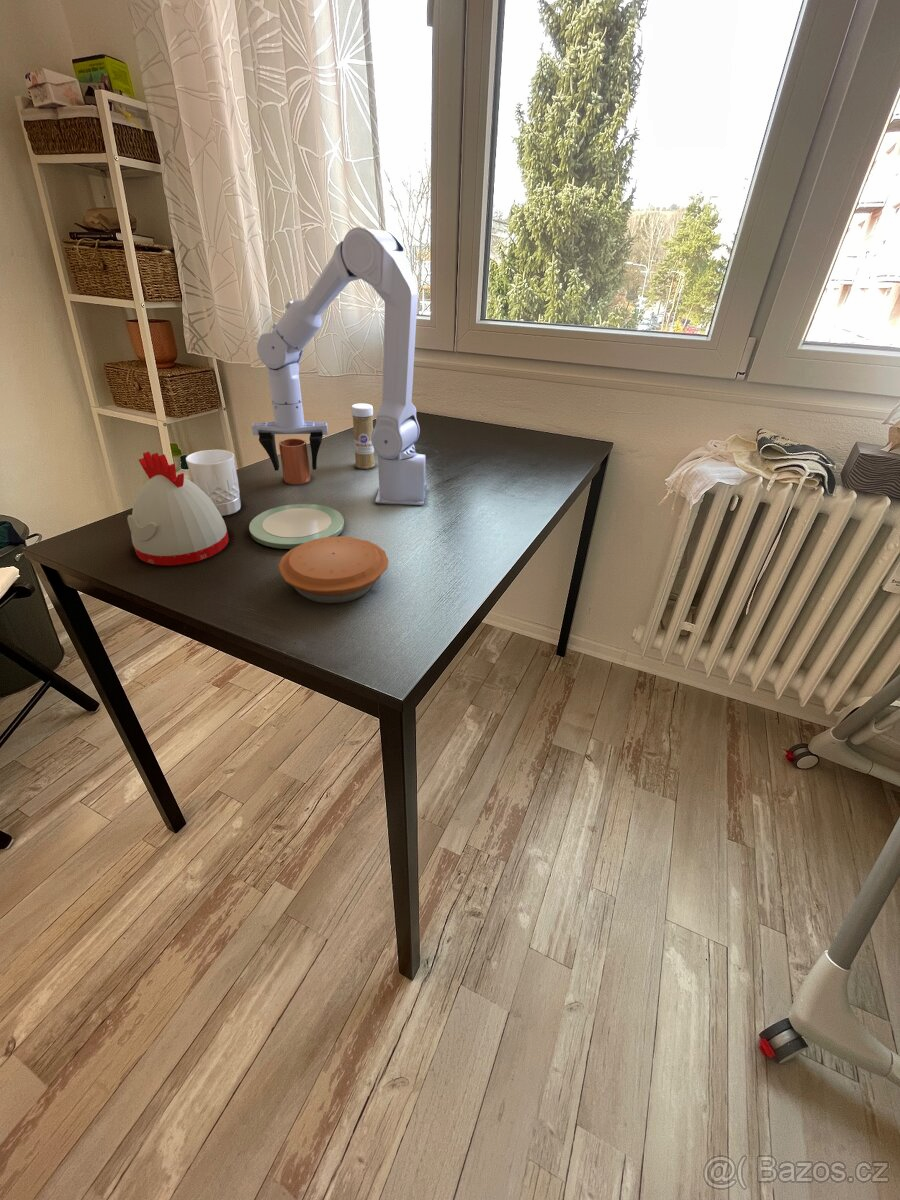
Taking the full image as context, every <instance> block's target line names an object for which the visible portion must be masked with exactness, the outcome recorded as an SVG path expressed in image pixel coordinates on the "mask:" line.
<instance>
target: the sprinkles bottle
mask: <svg viewBox="0 0 900 1200" xmlns="http://www.w3.org/2000/svg"><path fill="white" fill-rule="evenodd" d="M350 407H351V409H350V410H351V417H352V426H353V428H352V429H353V432H352V433H353V445H354V459H355V464H354V466H355V467H356V468H358V469H363V470H368V469H372V468H374V467H375V466H376V463H375V449H374V448H373V445H372V442H371V434H372V431H373V429H374V425H373V424H374V423H373V417H374V408H373V405H372V404H369V403H364V402H363V403H362V402H361V403H354V404H352V405H351V406H350Z"/></svg>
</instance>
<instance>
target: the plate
mask: <svg viewBox="0 0 900 1200" xmlns="http://www.w3.org/2000/svg"><path fill="white" fill-rule="evenodd" d="M344 529H345V519H344V516H343V515H342V514H341V513H340V512H339V511H338V510H336V509H334V508H332V507H329V506H325V505H320V504H314V503H295V504H286V505H280V506H277V507H273V508H270V509H267V510H265V511H263V512H261V513H259V514H258V515H256V516H254V517H253V519H252V520H251V521H250V522H249V526H248V530H249V534H250V537H251V538H252V539H253V540H254V541H255V542H256V543H258V544H260V545H263V546H265V547H270V548H275V549H282V550H283V549H284V550H292V549H294V548H295V547H297V546H299V545H301V544H304V543H306V542H309V541H312V540H315V539H319V538H325V537H336V536H339V535H340V534H341V533H342V532H343V531H344Z"/></svg>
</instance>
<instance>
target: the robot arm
mask: <svg viewBox="0 0 900 1200" xmlns="http://www.w3.org/2000/svg"><path fill="white" fill-rule="evenodd" d="M409 264H410V263H409V262H408V259H407V248H406V247H405V246H404V245H403V244H402V243H401V241H400V240H399V239H398V238H397V237H396V235H394V233H392V231H389V230H386V229H371V228H366V227H363V226H356V227H352V228H351V229H350V230H349V231H348V232H347V233H346V234H345V236H344V238H343V240H341V241H340V242H339V243H338V244H337V245H336V246H335V248H334V250H333V254H332V256H331V257H330V259H329V260H328V262H327V264H326V266H325V267H324V268H323V270H322V272H321V273H320V274H319V276H318V278H317V279H316V281H315V282H314V283H313V285H312V287H311V288H310V290H309V292H308V293H307V295H306V296H305V298H304V299H303V298H302V299H301V298H296V299H294V300H290V301H288V302H287V303H286V304H285V306H284V307H285V309H286V311H285V312H284V313H283V314H282V316H281V317H280V319H279V320H278V322H273V324H272V325H271V328H272V331H271V332H266V333H262V334H261V335H259V338H258V340H257V343H256V352H257V355H258V358H259V360H260V361H261V363H262V364H263V365H264V366H265V367H266V374H267V380H268V387H269V394H270V400H271V407H272V413H273V420H274V421H265V422H253V423H252V424H251V431H252V435H253V436H258V441H259V444H261V446H262V448H263V449H264V450H265V451H266V454H267V456H268V458H269V460H270V462H271V463H272V465H273V468H274V471H279V469H280V462H279V457H278V453H277V445H276V435H309V439H308V440H309V446H310V452H311V468H312V471H317V467H318V466H317V461H318V455H319V451H320V447H321V444H322V441H323V437H324V436H327V435H329V427H328V422H321V421H308V420H305V415H304V406H303V399H302V390H301V382H300V362H301V361H302V358H303V355H304V349H305V347H307V345H308V343H310V341H311V340H312V339H313V338H314V336H315V335H316V333H317V332H318V331H319V330H320V328H321V327H322V325H323V324H322V323H323V321H322V320H323V319H322V313H324V311H326V309H327V308H328V307H329V306H330V305H331V304H332V302H333V301H334V300H335V299H336V298H337V297H338V296H339V294H341V292H342V291H343V290H344V289H345V288H346V286H348V285H349V283H350V282H354V281H359V280H362V281H363V282H365V283H367V284H368V285H369V286H371V287H372V288H373V289H374V291H375V292H376V293H377V295H379V296H380V298H381V299H382V300H383V302H384V323H383V326H384V327H383V330H384V331H383V357H382V358H383V359H382V360H383V361H382V362H383V363H382V366H383V367H382V397H381V403H380V406H379V408H378V410H377V413H376V416H375V426H374V427H373V431H372V434H371V442H372V445H373V448H374V452H376V453H377V466H378V467H377V468H378V491H377V494H376V497H375V503H376V504H388V505H414V506H423V505H424V503H425V496H426V492H427V486H428V483H427V482H426V472H427V471H426V463H427V462H426V461H427V459H426V458H427V457H426V454H422V453H417V452H416V447H415V443H416V442H417V441H418V439H419V437H420V434H421V433H420V432H421V428H420V424H419V422H418V419H417V408H416V406H415V405H414V403H413V401H412V399H413V385H414V384H413V383H414V381H413V380H414V367H415V366H414V365H415V364H414V363H415V348H416V335H417V334H416V333H417V332H416V331H417V316H418V315H417V314H418V301H419V300H418V298H419V290H418V286H417V283H416V281H415V277H414V275H413V272H412V270H411V267H410V265H409Z"/></svg>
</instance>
